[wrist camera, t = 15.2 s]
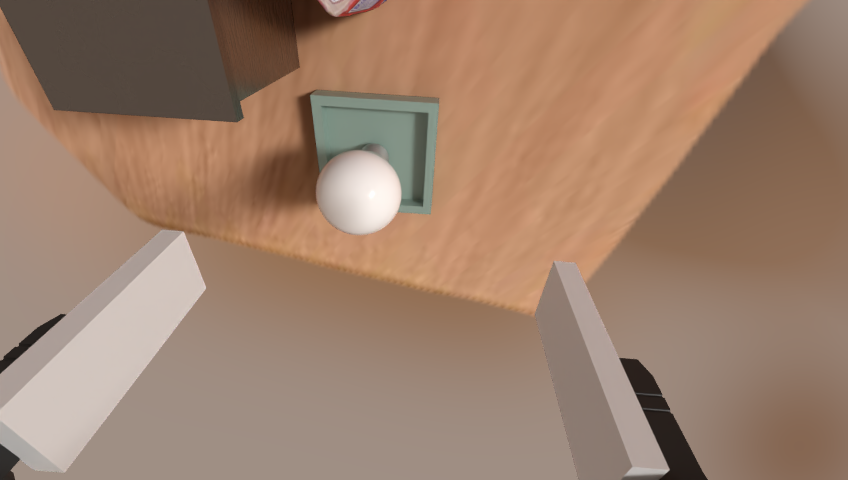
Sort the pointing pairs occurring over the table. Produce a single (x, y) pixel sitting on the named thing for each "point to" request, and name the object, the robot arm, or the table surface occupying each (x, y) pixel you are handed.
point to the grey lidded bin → (155, 53)
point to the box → (349, 6)
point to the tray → (382, 136)
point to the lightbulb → (359, 190)
